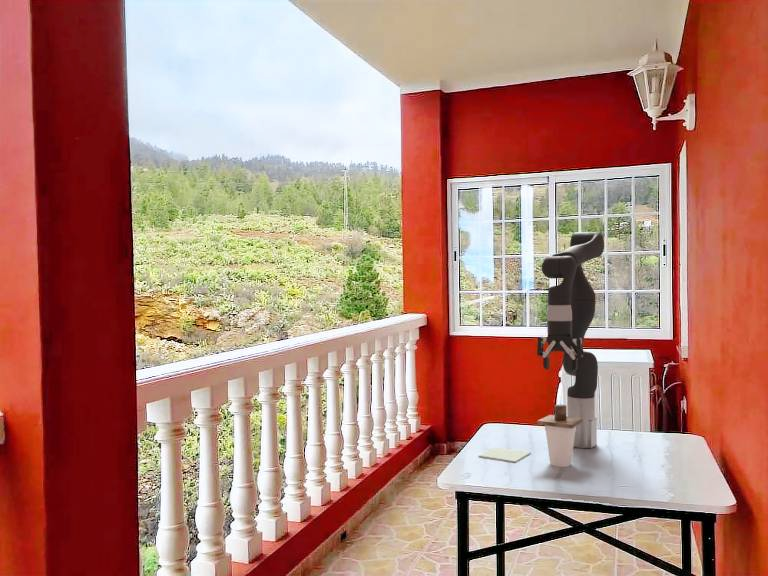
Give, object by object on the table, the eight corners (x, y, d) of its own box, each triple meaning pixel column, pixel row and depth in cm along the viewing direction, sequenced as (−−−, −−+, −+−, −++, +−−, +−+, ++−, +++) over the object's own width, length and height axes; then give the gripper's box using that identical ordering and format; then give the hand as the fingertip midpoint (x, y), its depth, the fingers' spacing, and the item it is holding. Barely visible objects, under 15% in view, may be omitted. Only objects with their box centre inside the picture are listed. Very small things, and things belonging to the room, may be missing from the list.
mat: (530, 453, 222) (530, 452, 222) (515, 462, 212) (515, 461, 212) (495, 448, 230) (495, 447, 230) (478, 457, 219) (478, 455, 219)
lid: (583, 422, 211) (583, 404, 211) (571, 428, 202) (571, 410, 202) (550, 418, 217) (549, 401, 217) (537, 424, 208) (537, 406, 208)
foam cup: (563, 470, 203) (563, 427, 203) (539, 463, 210) (539, 422, 210) (581, 464, 209) (581, 423, 209) (557, 458, 216) (557, 418, 216)
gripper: (585, 319, 208) (586, 370, 209) (542, 318, 216) (542, 367, 217) (578, 320, 202) (578, 373, 202) (533, 319, 210) (534, 370, 210)
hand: (560, 370), depth 209 cm, fingers open, 8 cm apart
